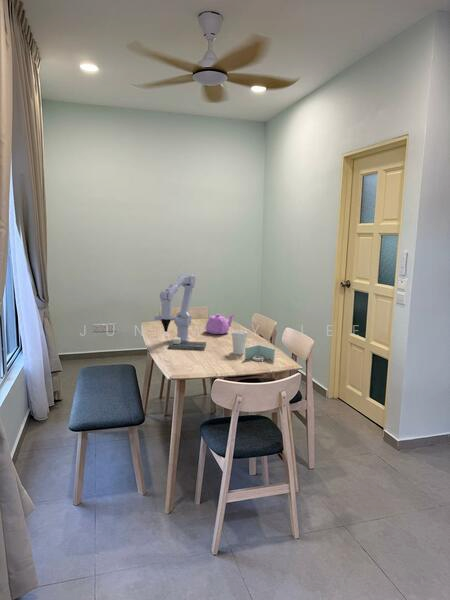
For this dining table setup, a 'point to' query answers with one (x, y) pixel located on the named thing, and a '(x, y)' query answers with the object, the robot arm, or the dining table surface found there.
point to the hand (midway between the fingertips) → (165, 331)
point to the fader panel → (188, 345)
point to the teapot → (218, 324)
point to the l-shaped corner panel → (259, 352)
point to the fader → (176, 340)
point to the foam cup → (239, 341)
